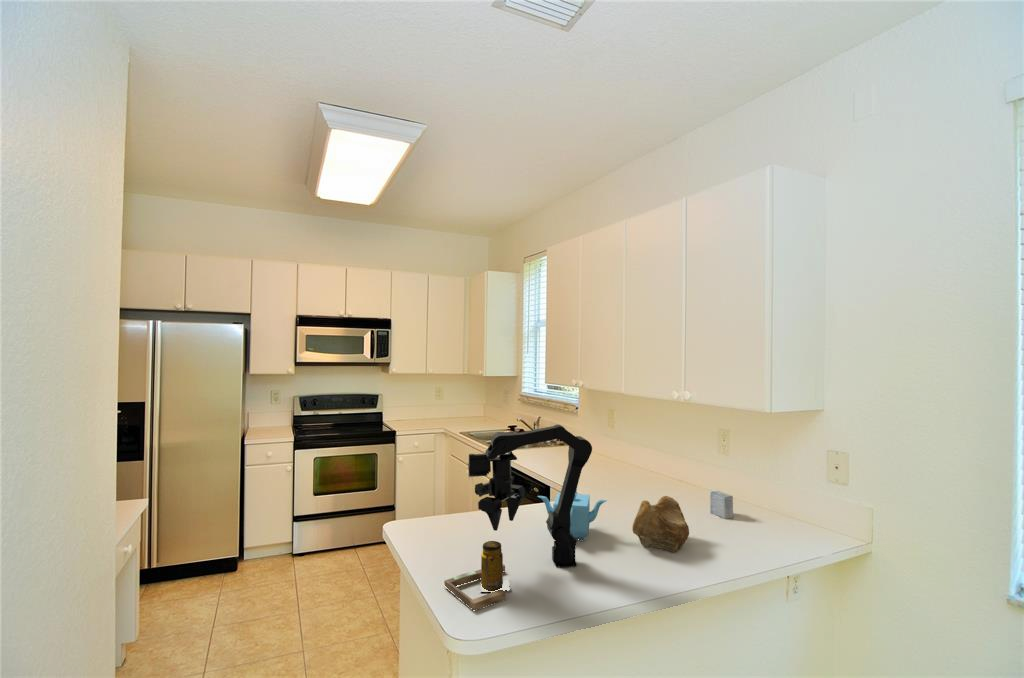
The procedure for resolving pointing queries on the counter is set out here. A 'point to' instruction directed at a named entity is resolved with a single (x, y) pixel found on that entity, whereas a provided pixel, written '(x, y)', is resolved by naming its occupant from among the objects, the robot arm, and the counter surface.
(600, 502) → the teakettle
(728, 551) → the counter surface
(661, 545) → the rough brown rock
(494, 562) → the condiment
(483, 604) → the rail bay
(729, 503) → the medicine box
